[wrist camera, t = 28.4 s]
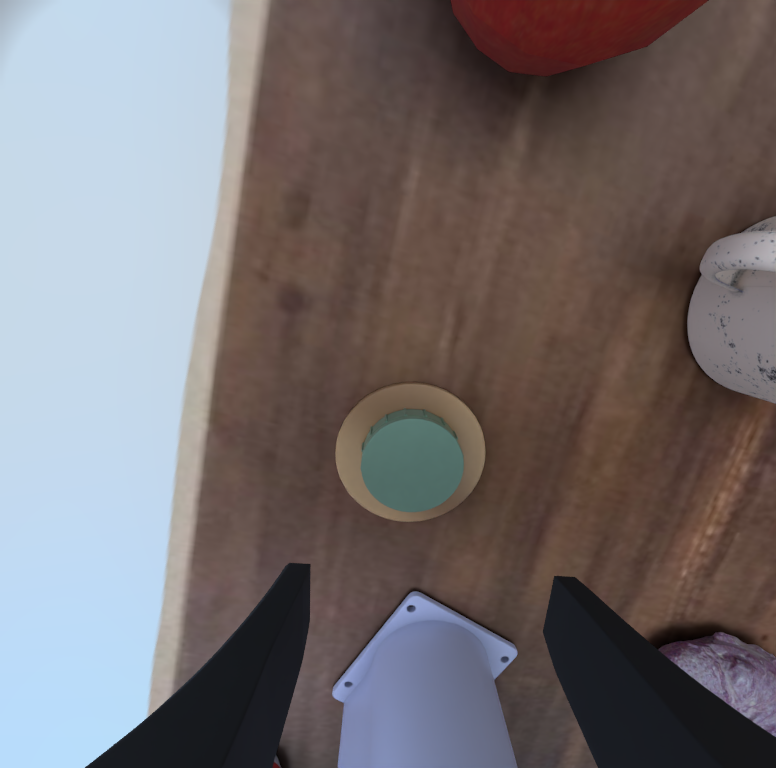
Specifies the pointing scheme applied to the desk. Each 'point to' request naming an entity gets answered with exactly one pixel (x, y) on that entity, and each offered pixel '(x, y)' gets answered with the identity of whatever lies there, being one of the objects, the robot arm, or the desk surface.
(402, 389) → the cork coaster
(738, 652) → the fossil
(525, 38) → the apple
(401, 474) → the lid
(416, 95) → the desk surface
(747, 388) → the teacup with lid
